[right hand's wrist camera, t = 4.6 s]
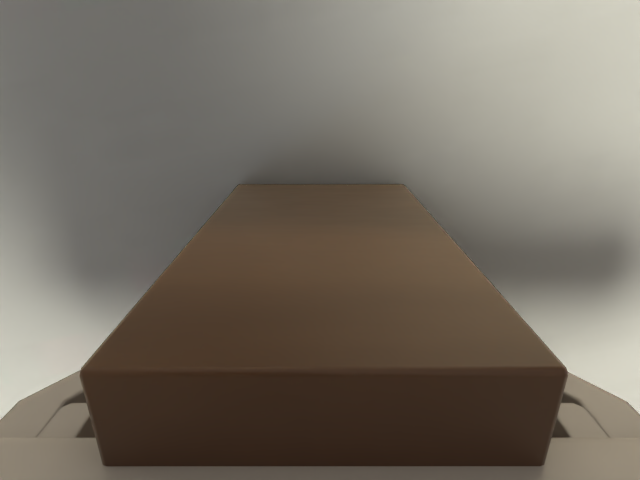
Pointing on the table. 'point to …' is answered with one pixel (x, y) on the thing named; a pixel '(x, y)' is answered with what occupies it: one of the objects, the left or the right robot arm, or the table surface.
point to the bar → (323, 345)
